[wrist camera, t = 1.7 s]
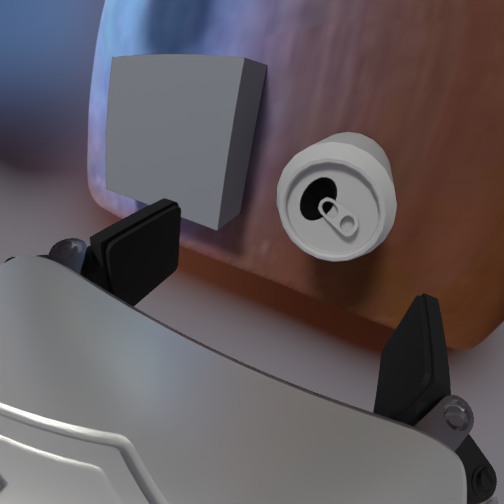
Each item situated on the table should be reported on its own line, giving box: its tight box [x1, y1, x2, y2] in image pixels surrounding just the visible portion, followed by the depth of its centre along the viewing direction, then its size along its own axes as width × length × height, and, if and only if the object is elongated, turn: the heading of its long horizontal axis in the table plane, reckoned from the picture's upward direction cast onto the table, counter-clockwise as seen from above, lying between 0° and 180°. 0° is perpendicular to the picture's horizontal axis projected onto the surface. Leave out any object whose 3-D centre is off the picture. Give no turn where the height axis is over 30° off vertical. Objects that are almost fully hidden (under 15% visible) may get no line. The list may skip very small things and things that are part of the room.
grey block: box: [106, 54, 267, 230], centre depth 28 cm, size 16×16×5 cm
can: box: [277, 132, 397, 262], centre depth 21 cm, size 8×8×12 cm
